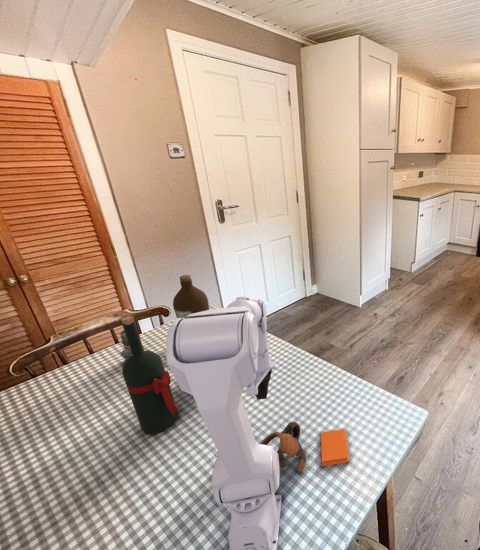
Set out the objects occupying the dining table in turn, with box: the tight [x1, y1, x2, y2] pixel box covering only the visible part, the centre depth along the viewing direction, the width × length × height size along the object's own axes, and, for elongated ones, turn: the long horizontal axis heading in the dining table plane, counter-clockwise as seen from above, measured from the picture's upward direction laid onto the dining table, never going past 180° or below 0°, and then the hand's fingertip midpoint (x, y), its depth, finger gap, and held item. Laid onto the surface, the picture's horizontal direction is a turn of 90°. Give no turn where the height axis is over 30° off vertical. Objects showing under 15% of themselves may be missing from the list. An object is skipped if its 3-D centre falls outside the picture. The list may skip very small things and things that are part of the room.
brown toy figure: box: [260, 421, 307, 474], centre depth 67 cm, size 12×10×8 cm
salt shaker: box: [119, 328, 132, 362], centre depth 98 cm, size 6×6×12 cm
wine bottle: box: [120, 315, 180, 436], centre depth 71 cm, size 8×10×30 cm
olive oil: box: [172, 274, 210, 319], centre depth 106 cm, size 11×11×25 cm
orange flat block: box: [320, 428, 350, 467], centre depth 70 cm, size 8×6×1 cm
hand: (262, 397), depth 72 cm, fingers closed
